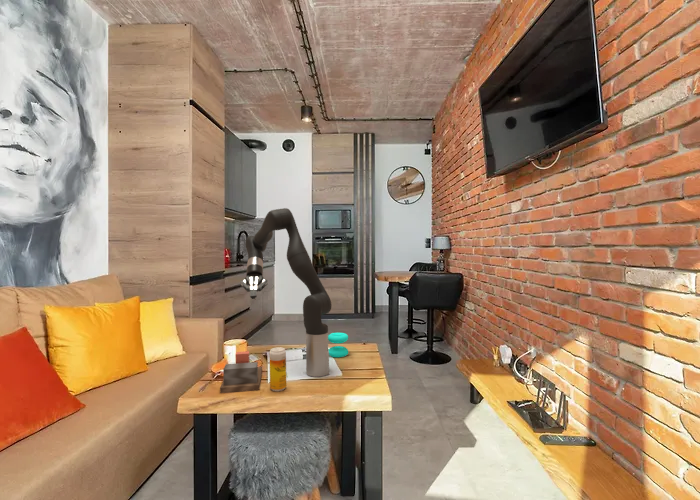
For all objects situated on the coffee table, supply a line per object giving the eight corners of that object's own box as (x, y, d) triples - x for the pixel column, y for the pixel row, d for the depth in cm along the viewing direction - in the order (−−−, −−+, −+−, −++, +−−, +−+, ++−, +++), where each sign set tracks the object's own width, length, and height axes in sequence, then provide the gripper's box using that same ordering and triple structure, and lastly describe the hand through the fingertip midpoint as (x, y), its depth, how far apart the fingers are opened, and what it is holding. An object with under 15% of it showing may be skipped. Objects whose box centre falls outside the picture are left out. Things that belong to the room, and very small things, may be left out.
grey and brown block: (262, 371, 158) (261, 352, 158) (259, 390, 139) (258, 369, 138) (228, 373, 156) (227, 354, 156) (220, 393, 136) (219, 371, 136)
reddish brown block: (249, 373, 150) (249, 351, 150) (249, 375, 147) (248, 353, 147) (236, 374, 149) (236, 352, 149) (235, 376, 146) (235, 354, 146)
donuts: (326, 332, 183) (345, 331, 185) (326, 352, 183) (345, 351, 185) (329, 337, 173) (350, 336, 175) (329, 359, 173) (350, 357, 176)
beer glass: (282, 392, 136) (282, 352, 136) (267, 391, 138) (266, 351, 137) (288, 386, 142) (288, 347, 142) (273, 384, 144) (273, 346, 143)
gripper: (239, 263, 175) (237, 293, 163) (268, 263, 177) (267, 292, 166) (241, 273, 180) (238, 303, 169) (269, 273, 183) (268, 302, 171)
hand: (253, 297), depth 167 cm, fingers closed
